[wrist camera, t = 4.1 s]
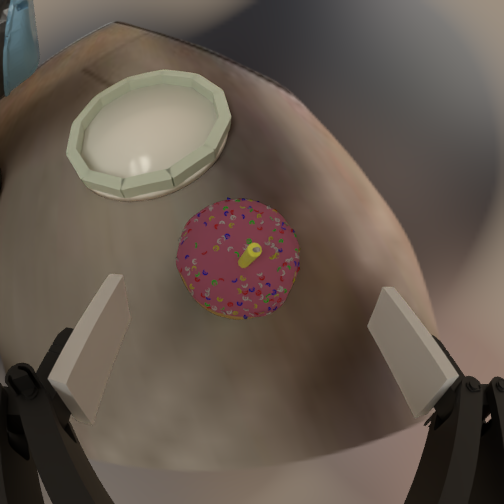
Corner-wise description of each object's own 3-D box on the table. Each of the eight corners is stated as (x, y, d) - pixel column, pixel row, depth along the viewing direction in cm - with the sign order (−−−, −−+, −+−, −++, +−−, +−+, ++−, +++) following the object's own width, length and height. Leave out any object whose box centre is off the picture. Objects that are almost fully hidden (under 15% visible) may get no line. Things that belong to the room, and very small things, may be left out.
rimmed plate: (49, 181, 24) (39, 169, 21) (125, 79, 30) (122, 66, 27) (190, 223, 24) (188, 211, 22) (248, 98, 30) (250, 83, 28)
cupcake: (292, 315, 23) (363, 287, 11) (189, 329, 21) (158, 316, 10) (274, 221, 25) (316, 131, 14) (180, 230, 24) (155, 138, 12)
